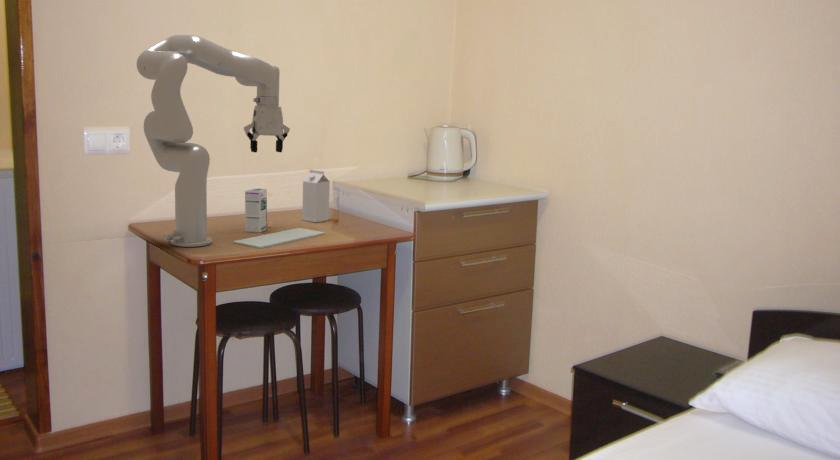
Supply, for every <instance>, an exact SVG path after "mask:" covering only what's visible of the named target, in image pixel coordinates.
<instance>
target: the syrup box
mask: <svg viewBox="0 0 840 460" xmlns="http://www.w3.org/2000/svg"><path fill="white" fill-rule="evenodd" d="M267 191H268V190H267V189H265V188H250V189H247V190H245V191H244V208H245V209H244V218H245V219H244V220H245V221H244V222H245V224H244V225H245V232H249V233H260V234H261V233H262V232H264V231H267V230H268V206H267V205H268V202H267V201H268V200H267V199H268V196H267Z"/></svg>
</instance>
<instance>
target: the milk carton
mask: <svg viewBox="0 0 840 460" xmlns="http://www.w3.org/2000/svg"><path fill="white" fill-rule="evenodd" d="M324 173H325V172H324V171H322V170H313V169H309V173H308V174H307V175H306V177H305V178H304V179H303V181H302V220H303V221H306V222H312V223H321V222H327V221H329V220H330V185H331V184H330V182H331V181H330V180H329V179H328V178H327V176H325V174H324Z"/></svg>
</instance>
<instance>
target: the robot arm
mask: <svg viewBox="0 0 840 460" xmlns="http://www.w3.org/2000/svg"><path fill="white" fill-rule="evenodd" d="M188 64H191V65H195V66H196V67H200V68H202V69H205V70H207V71H209V72H211V73H214V74H216V75H220V76H225V77H230V78H235V81H236V82H237V83H238V84H240V85H242V86H244V87H256V96H255V97H254V98H253V100H252V101H253V102H254V103H255V104H256V105H254V108H253V113H252V119H251V123H249V124H247V125H245V126H244V127H243V130H244V133H245V135H246V137H247V138H248V139H249V141H250V143H249V144H250V146H249V148H250V151H251V153H257V152H258V140H257V139H258V138H259V136H269V137H270V136H271V137H273V136H274V137H275V138H276V140H275V152H276V153H283V148H284V145H283V144H284V141H285V139H286V137H288V135H289V132H290V130H291V129H290V127H288V126H287V125H285V124H284V119H283V118H284V116H283V110H282V107H281V106H279V105H280V102H279V101H280V69H279V67H278V66H276V65H271V64H270V63H268V62H266V61H264V60H261V59H259V58H257V57H254V56H251V55H248V54H245V53H241V52H238V51H236V50H232V49H228V48H226V47H223V46H221V45H219V44H217V43H215V42H212V41H210V40H208V39H206V38H204V37H202V36H198V35H194V34H174V35H171V36H169V37H167V38H165V39H163V40H161V41H160V42H158V43H156V44H154V45H152V46H151V47H148V48H147V49H145V50H144V51H143V52H141V53H139V55H138V57H137V59H136V70H137V72H138V74H139V75H141V76H142V77H143V78H145V79H147V80H154V83H153V86H152V89H151V94H150V99H151V104H152V107H153V109H154V110H152V111H151V112H149V113H148V114H146V116H145V118H144V119H143V120H144V121H143V132H144V133H143V134H144V136H145V138H146V141H147V142H148V146H149V147H150V149H151V151H152V154H153V156H154V158H155V160H156V163H157V164H158V165H159V167H161V169H164V170H165V171H167V172H174V173H179V175H178V177H177V179H176V182H175V185H174V207H175V208H174V211H175V214H174V219H175V229H172V232H171V233H169V234H164V235H163V237H162V239H163V241H164V242H169V241H170V244H171V245H172V246H175V247H181V248H183V247H184V248H186V247H187V248H196V247H197V248H198V247H206V246H209V245H212V243H213V239H212V237H209V236H208V219H207V218H208V217H207V216H208V213H207V212H208V211H207V210H208V209H207V207H208V206H207V203H208V202H207V196H208V195H207V186H208V185H207V182H208V173H209V167H210V159H211V158H210V154H209V152H208V150H207V149H206V148H205V147H204V146H202V145H200V144H198V143H193V142H192V143H191V142H189V141H191V139H192V137H193V135H194V126H193V125H192V122H191V119H190V116H189V114H188V111H187V110H186V107H185V105H184V102H183V99H182V95H181V88H182V84H183V82H184V79H185V77H186V74H187V72H188ZM251 132H252V133H251Z"/></svg>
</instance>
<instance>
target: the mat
mask: <svg viewBox="0 0 840 460" xmlns="http://www.w3.org/2000/svg"><path fill="white" fill-rule="evenodd" d="M325 234H326V232H325V231H318V230H313V229H307V228H301V227H297V228H296V227H295V228H291V229H286V230H281V231H277V232H272V233H267V234H262V235H257V236H252V237H247V238H243V239H238V240H237V239H236V240H232V244H235V245H240V246H246V247H250V248H255V249H265V247H266V248H270V247H274V246H278V245H282V244H287V243H292V242H297V241H300V240H305V239H310V238H314V237H318V236H323V235H325Z"/></svg>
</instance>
